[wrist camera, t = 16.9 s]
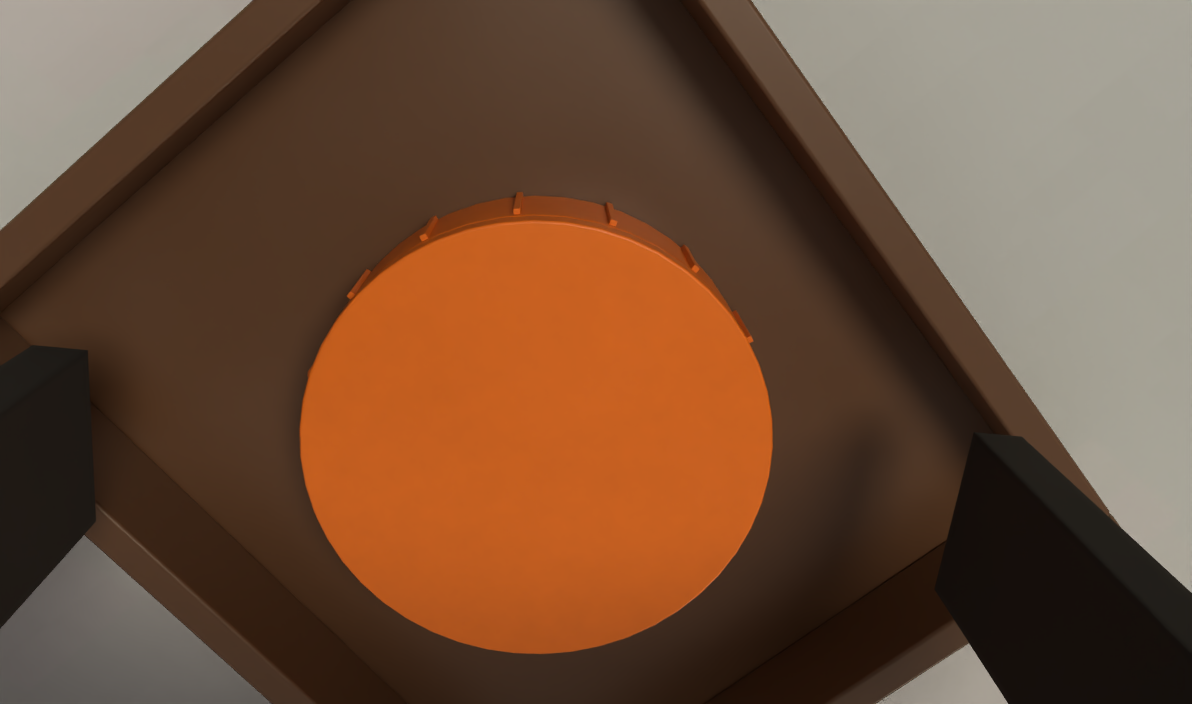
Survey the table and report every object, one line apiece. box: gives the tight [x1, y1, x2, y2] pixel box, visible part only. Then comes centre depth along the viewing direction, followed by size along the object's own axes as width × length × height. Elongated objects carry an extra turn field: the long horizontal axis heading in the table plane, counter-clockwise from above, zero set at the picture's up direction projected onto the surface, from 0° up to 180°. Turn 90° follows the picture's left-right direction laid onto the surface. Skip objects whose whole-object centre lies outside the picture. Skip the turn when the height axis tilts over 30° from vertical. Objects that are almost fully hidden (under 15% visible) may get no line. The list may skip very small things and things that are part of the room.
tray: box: [0, 0, 1120, 704], centre depth 17 cm, size 15×13×2 cm
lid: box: [299, 192, 773, 654], centre depth 17 cm, size 8×8×2 cm
